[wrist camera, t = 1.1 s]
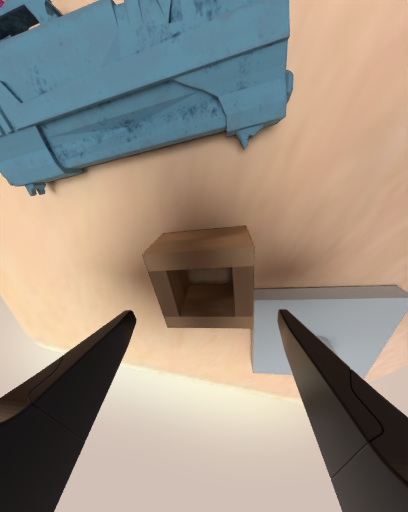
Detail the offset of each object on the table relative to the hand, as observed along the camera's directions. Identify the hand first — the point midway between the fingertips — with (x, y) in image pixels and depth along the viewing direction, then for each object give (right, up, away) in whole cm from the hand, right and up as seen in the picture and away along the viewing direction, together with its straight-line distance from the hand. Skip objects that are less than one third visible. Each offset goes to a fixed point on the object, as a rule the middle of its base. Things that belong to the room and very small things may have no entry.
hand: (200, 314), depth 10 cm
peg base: (+12, -5, +8) cm, 15 cm away
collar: (+1, +3, +5) cm, 6 cm away
